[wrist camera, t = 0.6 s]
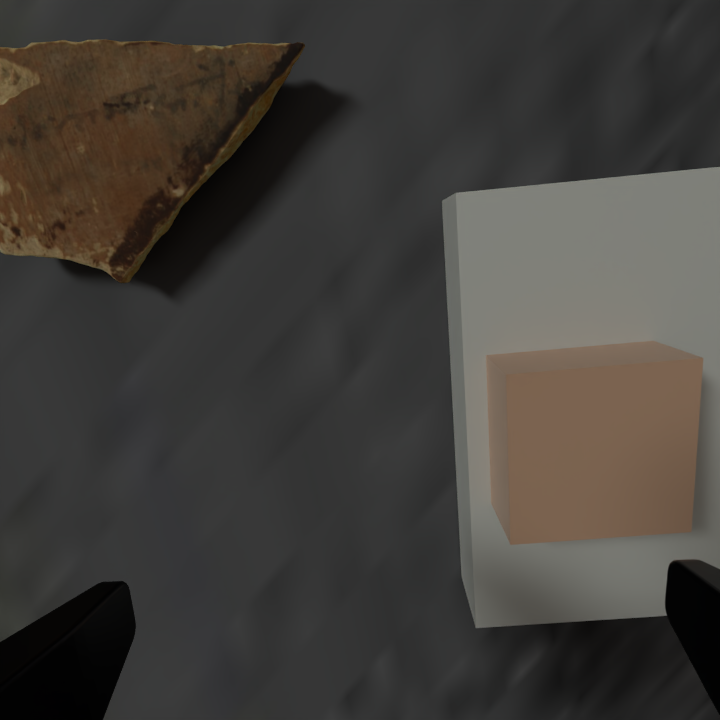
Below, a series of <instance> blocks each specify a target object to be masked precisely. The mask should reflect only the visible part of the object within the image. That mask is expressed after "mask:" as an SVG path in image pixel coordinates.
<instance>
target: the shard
mask: <svg viewBox="0 0 720 720" xmlns="http://www.w3.org/2000/svg"><path fill="white" fill-rule="evenodd" d="M304 47H305V45H304V43H299V42H297V43H294V44H290V43H281V44H267V43H263V44H259V43H245V44H236V45H229V46H226V47H220V46H214V45H213V46H201V45H200V46H195V45H192V46H190V45H181V44H179V45H174V44H171V43H166V42H158V41H134V42H118V41H111V40H105V39H104V40H86V41H83V42H70V41H66V40H60V41H55V42H41V43H31V44H29V45H28V46H27V47H26V48H3V47H0V250H1V252H2V253H4V254H7V255H17V256H31V255H33V256H37V257H48V258H59V259H66V260H71V261H74V262H77V263H80V264H84V265H88V266H91V267H93V268H98V269H101V270H104V271H105V272H107V273H108V274H110V275H111V276H112V277H113V278H114V279H115V280H117V281H118V282H120V283H127V282H130V280H131V278H132V277H133V276H134V274H135V273H136V272H137V271H138V270H139V268H140V266H141V264H142V263H143V262H144V260H145V258H146V256H147V255H148V253H149V252H150V250H151V249H152V247H153V245H154V244H155V243H156V242H157V241H158V240H159V238H160V237H161V236H162V235H163V234H165V233H166V232H167V231H168V230H169V228H170V227H171V225H172V223H173V221H174V220H175V218H176V216H177V215H178V213H179V211H180V209H181V207H182V206H183V205H184V204H185V203H186V202H187V201H188V200H189V199H190V198H191V196H192V195H193V194H194V193H195V192H196V191H197V190H198V189H199V188H200V186H201V185H202V184H203V183H205V182H206V181H207V180H208V178H209V177H210V176H211V175H212V174H213V173H214V172H215V171H216V170H217V169H218V168H219V167H220V166H221V165H222V164H223V163H225V162H226V161H227V160H228V159H229V158H230V157H231V156H232V155H233V153H234V152H235V151H236V150H237V149H238V147H239V146H240V145H241V143H242V142H243V141H244V140H245V139H246V138H247V137H248V136H249V135H250V134H251V132H252V131H253V130H254V129H255V127H256V126H257V124H258V123H259V121H260V120H261V118H262V117H263V116H264V115H265V113H266V112H267V111H268V110H269V108H270V106H271V104H272V102H273V99H274V97H275V95H276V94H277V92H278V90H279V89H280V87H281V86H282V84H283V83H284V81H285V80H286V78H287V77H288V75H289V74H290V71H291V69H292V66H293V65H294V63H295V62H296V61H297V60H298V58H299V57H300V55H301V53H302V51H303V49H304Z"/></svg>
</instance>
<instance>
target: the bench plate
mask: <svg viewBox="0 0 720 720" xmlns="http://www.w3.org/2000/svg"><path fill="white" fill-rule="evenodd" d="M442 212H443V231H444V250H445V269H446V288H447V307H448V326H449V345H450V364H451V383H452V402H453V421H454V440H455V460H456V479H457V498H458V517H459V536H460V555H461V574H462V580H463V583H464V587H465V591H466V594H467V598H468V601H469V605H470V609H471V612H472V616H473V620H474V623H475V627H476V628H485V627H500V626H516V625H531V624H547V623H562V622H578V621H593V620H609V619H624V618H640V617H655V616H667V614H666V610H665V594H666V583H667V572H668V566H669V564H670V563H671V562H672V561H673V560H685V559H697V560H701V561H703V562H706V563H708V564H710V565H712V566H714V567H717V568H719V569H720V167H714V168H704V169H694V170H683V171H673V172H663V173H653V174H643V175H633V176H623V177H613V178H603V179H593V180H582V181H572V182H562V183H552V184H542V185H532V186H522V187H512V188H502V189H491V190H481V191H471V192H461V193H455V194H453V195H452V196H450V197H448V198H446V199H445V200H443V201H442ZM644 341H656V342H659V343H662V344H665V345H667V346H670V347H673V348H676V349H679V350H682V351H685V352H688V353H691V354H694V355H697V356H699V357H702V358H703V371H702V385H701V400H700V415H699V429H698V444H697V458H696V473H695V487H694V502H693V517H692V531H691V532H686V533H672V534H657V535H643V536H629V537H615V538H601V539H587V540H573V541H559V542H545V543H530V544H516V545H510V543H509V541H508V539H507V536H506V534H505V532H504V530H503V528H502V526H501V524H500V521H499V519H498V517H497V515H496V513H495V511H494V509H493V506H492V504H491V486H490V458H489V429H488V401H487V373H486V355H493V354H504V353H516V352H528V351H539V350H551V349H562V348H574V347H586V346H597V345H609V344H621V343H632V342H644Z"/></svg>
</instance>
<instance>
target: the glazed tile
mask: <svg viewBox="0 0 720 720" xmlns="http://www.w3.org/2000/svg"><path fill="white" fill-rule="evenodd" d="M702 371H703V358H702V357H699V356H697V355H694V354H691V353H688V352H685V351H682V350H679V349H676V348H673V347H670V346H667V345H665V344H662V343H659V342H656V341H644V342H632V343H621V344H609V345H597V346H586V347H574V348H562V349H551V350H539V351H528V352H516V353H504V354H493V355H486V373H487V401H488V429H489V458H490V486H491V504H492V506H493V509H494V511H495V513H496V515H497V517H498V519H499V521H500V524H501V526H502V528H503V530H504V532H505V534H506V536H507V539H508V541H509V543H510V545H516V544H530V543H545V542H559V541H573V540H587V539H601V538H615V537H629V536H643V535H657V534H672V533H686V532H691V531H692V517H693V502H694V487H695V473H696V458H697V444H698V429H699V415H700V400H701V385H702Z"/></svg>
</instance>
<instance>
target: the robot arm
mask: <svg viewBox="0 0 720 720" xmlns="http://www.w3.org/2000/svg"><path fill="white" fill-rule="evenodd" d="M665 610H666V614H667V617H668V619H669V622H670V624H671V625H672V627H673V629H674V631H675V633H676V635H677V637H678V639H679V640H680V642H681V644H682V646H683V648H684V650H685V652H686V654H687V655H688V657H689V659H690V661H691V663H692V665H693V667H694V669H695V670H696V672H697V674H698V676H699V678H700V680H701V682H702V684H703V685H704V687H705V689H706V691H707V693H708V695H709V697H710V699H711V700H712V702H713V704H714V706H715V708H716V709H717V711H718V713H719V715H720V569H719V568H717V567H714V566H712V565H710V564H708V563H706V562H703V561H701V560H697V559H685V560H673V561H672V562H671V563H670V564H669V566H668V572H667V583H666V594H665ZM135 629H136V622H135V616H134V611H133V606H132V600H131V595H130V590H129V587H128V585H127V584H126V583H125V582H123V581H113V582H101V583H98V584H97V585H95V586H93V587H92V588H90V589H88V590H87V591H85V592H83V593H82V594H80V595H78V596H77V597H75V598H73V599H72V600H70V601H68V602H66V603H65V604H63V605H61V606H60V607H58V608H56V609H55V610H53V611H51V612H50V613H48V614H46V615H45V616H43V617H41V618H40V619H38V620H36V621H35V622H33V623H31V624H30V625H28V626H26V627H25V628H23V629H21V630H20V631H18V632H16V633H15V634H13V635H11V636H10V637H8V638H6V639H5V640H3V641H1V642H0V720H103V718H104V715H105V713H106V710H107V708H108V705H109V702H110V700H111V697H112V694H113V692H114V689H115V686H116V684H117V681H118V679H119V676H120V673H121V671H122V668H123V665H124V663H125V660H126V657H127V655H128V652H129V650H130V647H131V644H132V642H133V639H134V635H135Z"/></svg>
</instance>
